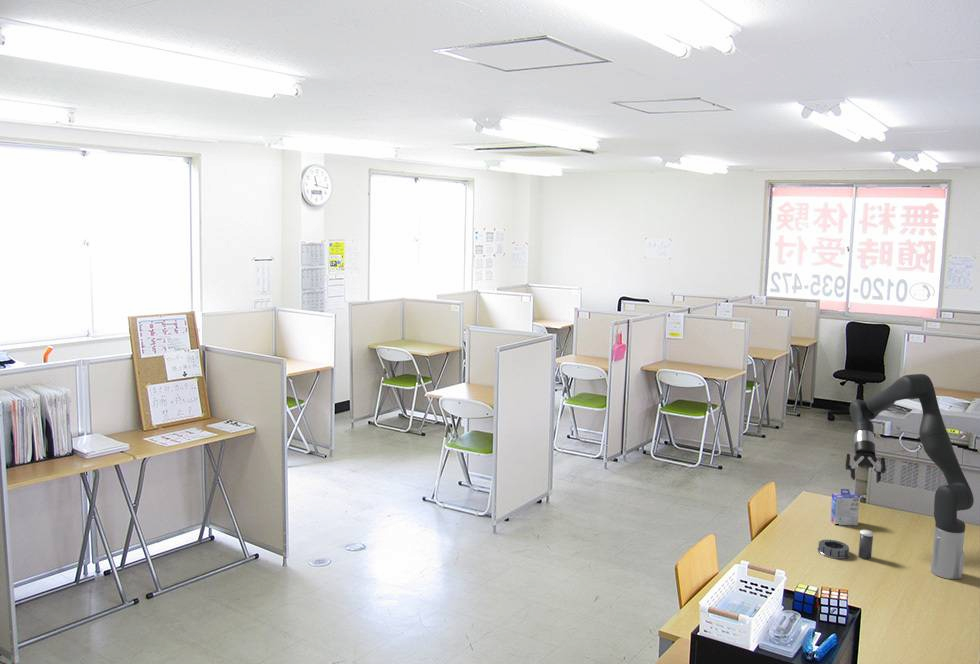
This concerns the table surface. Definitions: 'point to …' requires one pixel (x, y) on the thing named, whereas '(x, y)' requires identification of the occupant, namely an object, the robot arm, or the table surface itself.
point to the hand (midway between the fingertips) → (865, 480)
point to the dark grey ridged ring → (833, 549)
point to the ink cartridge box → (845, 508)
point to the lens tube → (865, 544)
